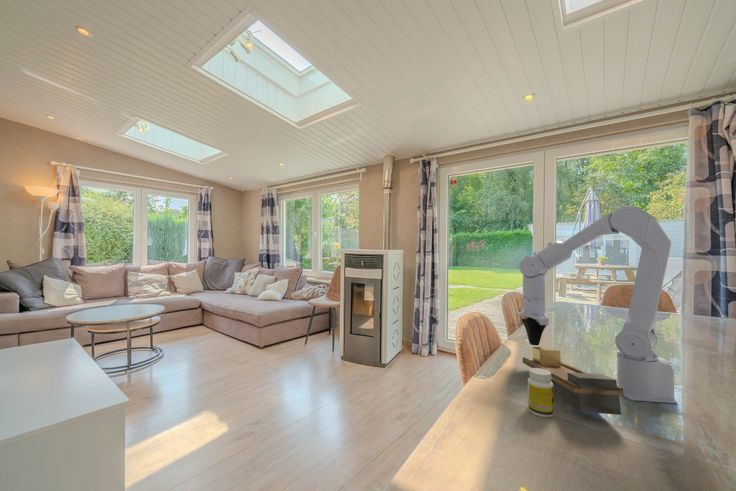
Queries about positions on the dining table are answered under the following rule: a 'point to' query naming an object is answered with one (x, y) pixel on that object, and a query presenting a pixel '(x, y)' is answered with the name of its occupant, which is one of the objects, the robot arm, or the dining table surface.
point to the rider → (546, 356)
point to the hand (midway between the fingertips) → (534, 344)
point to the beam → (585, 388)
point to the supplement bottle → (540, 393)
